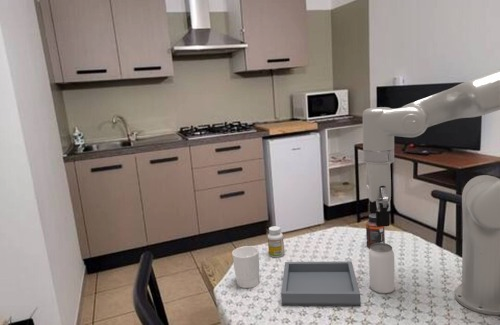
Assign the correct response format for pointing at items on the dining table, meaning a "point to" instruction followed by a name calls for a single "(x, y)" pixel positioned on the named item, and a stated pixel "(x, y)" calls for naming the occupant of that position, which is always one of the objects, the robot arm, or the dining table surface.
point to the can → (381, 268)
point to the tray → (320, 284)
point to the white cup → (246, 266)
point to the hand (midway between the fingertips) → (379, 219)
